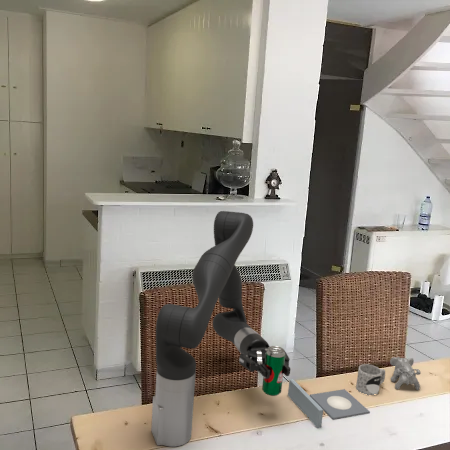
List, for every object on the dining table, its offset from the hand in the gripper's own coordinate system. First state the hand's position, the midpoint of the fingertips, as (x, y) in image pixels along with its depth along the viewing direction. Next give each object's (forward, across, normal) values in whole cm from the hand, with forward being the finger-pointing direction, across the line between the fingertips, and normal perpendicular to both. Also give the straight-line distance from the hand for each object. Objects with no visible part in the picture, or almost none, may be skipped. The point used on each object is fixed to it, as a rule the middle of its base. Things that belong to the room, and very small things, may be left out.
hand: (278, 373), depth 128 cm
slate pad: (-3, +22, +14) cm, 26 cm away
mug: (-8, +37, +14) cm, 40 cm away
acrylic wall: (-3, +11, +14) cm, 18 cm away
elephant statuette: (-9, +49, +14) cm, 52 cm away
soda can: (-3, 0, +7) cm, 7 cm away
